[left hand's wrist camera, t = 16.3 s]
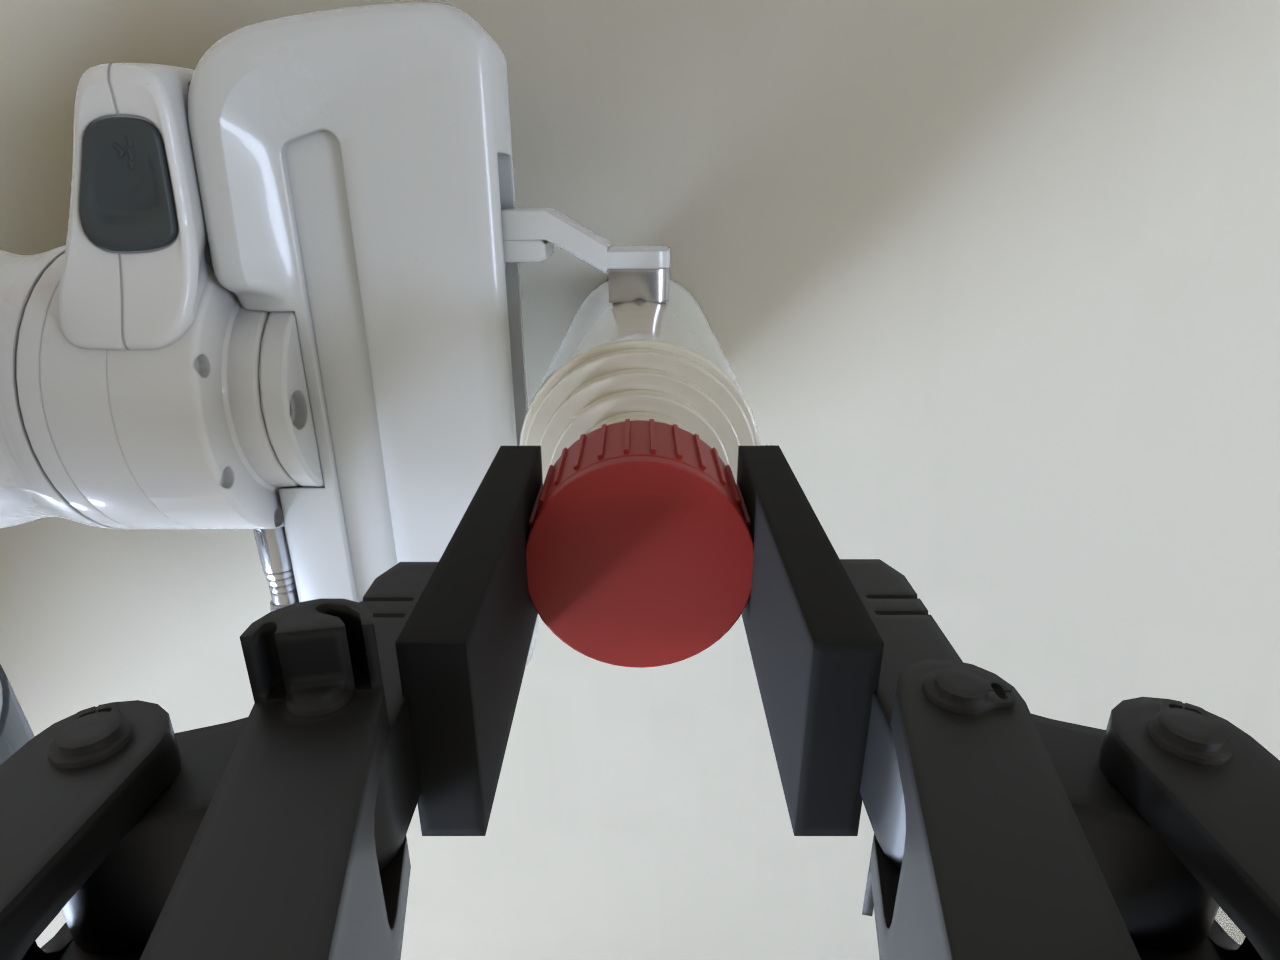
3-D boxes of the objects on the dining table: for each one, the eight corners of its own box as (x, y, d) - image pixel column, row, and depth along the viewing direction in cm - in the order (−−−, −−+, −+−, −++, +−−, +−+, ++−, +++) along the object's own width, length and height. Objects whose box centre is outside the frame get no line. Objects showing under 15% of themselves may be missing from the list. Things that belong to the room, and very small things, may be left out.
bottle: (643, 438, 31) (647, 743, 14) (541, 348, 30) (409, 564, 13) (738, 341, 30) (871, 550, 13) (636, 241, 28) (630, 324, 11)
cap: (781, 529, 14) (806, 587, 12) (624, 636, 15) (622, 708, 13) (657, 373, 13) (661, 408, 11) (495, 499, 14) (470, 553, 12)
